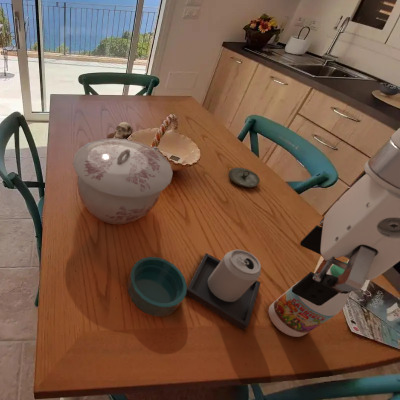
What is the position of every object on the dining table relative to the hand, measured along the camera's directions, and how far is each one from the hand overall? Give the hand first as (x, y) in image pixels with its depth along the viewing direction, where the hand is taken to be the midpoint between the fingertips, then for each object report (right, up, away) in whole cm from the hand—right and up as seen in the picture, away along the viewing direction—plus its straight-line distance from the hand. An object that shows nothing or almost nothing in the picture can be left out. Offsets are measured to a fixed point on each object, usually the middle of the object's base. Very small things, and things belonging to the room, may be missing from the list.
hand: (308, 271), depth 37 cm
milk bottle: (+15, -18, +24) cm, 34 cm away
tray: (+3, -12, +29) cm, 31 cm away
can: (+3, -12, +28) cm, 31 cm away
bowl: (-14, -12, +28) cm, 33 cm away
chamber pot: (-20, +8, +48) cm, 53 cm away
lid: (+29, +17, +63) cm, 71 cm away
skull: (-14, +36, +79) cm, 88 cm away
